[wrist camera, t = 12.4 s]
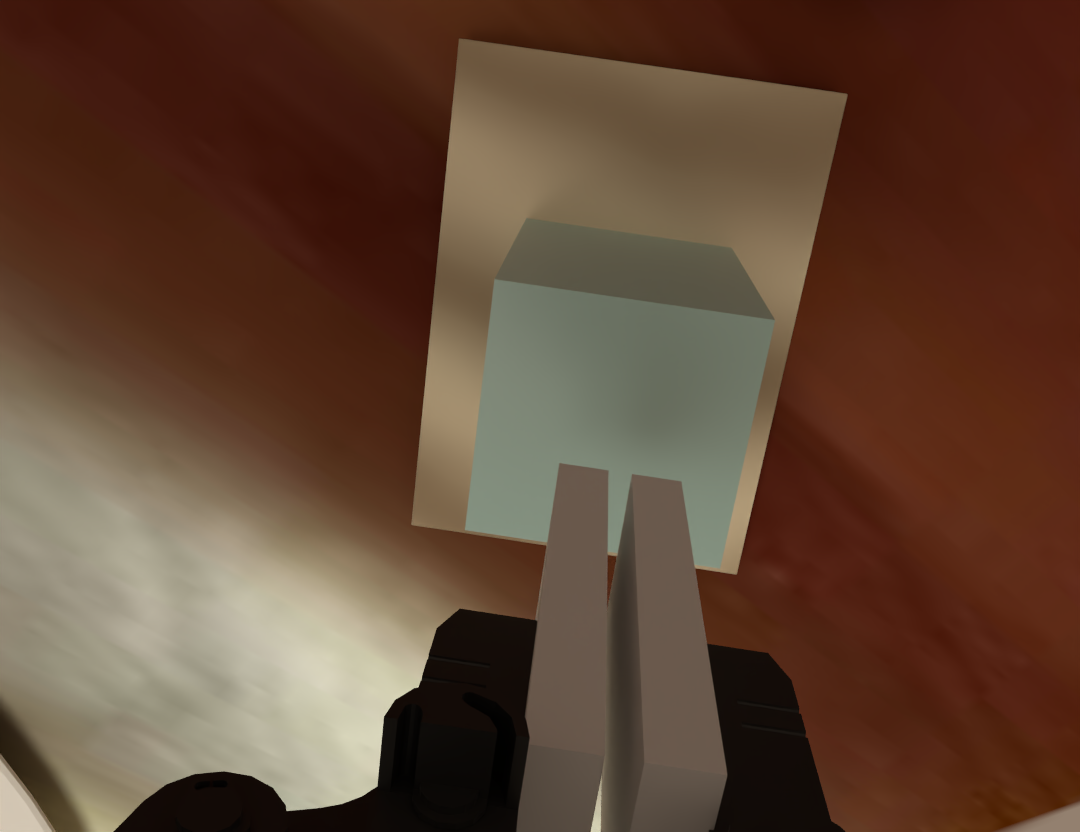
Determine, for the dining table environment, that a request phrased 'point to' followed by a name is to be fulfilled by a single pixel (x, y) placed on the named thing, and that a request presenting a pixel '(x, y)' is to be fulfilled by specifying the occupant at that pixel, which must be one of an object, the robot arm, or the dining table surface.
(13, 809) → the plate
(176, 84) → the dining table surface
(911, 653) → the dining table surface
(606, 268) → the grey-green block
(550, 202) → the stand
